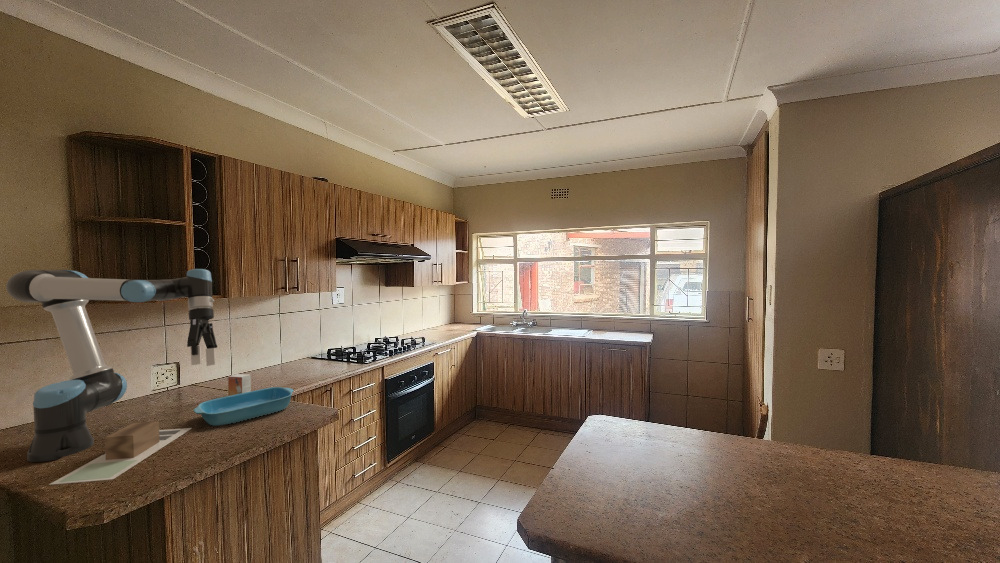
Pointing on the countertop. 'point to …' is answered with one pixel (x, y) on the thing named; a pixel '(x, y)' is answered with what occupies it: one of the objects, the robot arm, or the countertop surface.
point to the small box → (239, 384)
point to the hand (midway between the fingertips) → (204, 364)
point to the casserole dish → (244, 405)
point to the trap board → (116, 462)
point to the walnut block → (131, 440)
